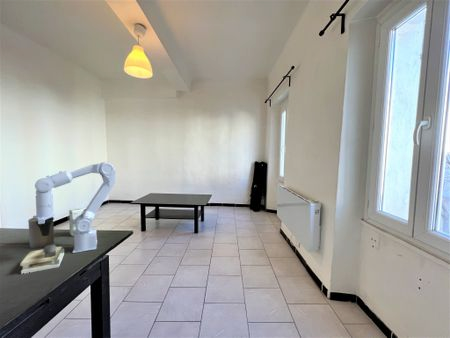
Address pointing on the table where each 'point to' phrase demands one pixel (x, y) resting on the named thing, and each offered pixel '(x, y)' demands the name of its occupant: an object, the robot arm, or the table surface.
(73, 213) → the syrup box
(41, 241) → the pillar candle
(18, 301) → the table surface
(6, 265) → the table surface
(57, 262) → the stand
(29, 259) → the plate
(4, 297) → the table surface
